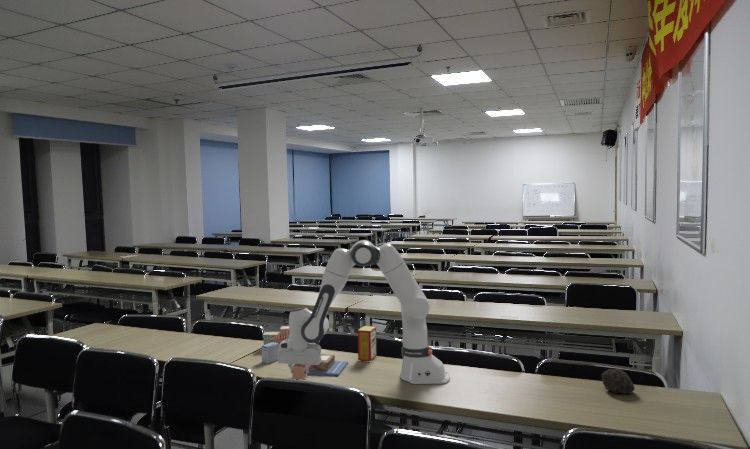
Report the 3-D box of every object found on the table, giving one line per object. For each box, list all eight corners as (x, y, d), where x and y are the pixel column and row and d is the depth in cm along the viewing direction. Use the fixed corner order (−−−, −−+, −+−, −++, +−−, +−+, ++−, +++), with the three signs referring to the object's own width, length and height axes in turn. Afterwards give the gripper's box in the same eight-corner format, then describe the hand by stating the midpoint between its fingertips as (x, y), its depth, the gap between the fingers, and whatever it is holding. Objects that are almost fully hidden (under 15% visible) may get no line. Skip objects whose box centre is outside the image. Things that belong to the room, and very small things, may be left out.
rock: (640, 393, 194) (635, 368, 194) (615, 399, 192) (610, 374, 193) (624, 387, 204) (619, 363, 204) (600, 392, 202) (595, 368, 203)
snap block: (306, 376, 222) (306, 362, 222) (303, 380, 217) (302, 365, 217) (296, 375, 223) (296, 361, 223) (292, 379, 218) (292, 365, 218)
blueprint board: (348, 363, 239) (347, 353, 239) (338, 376, 222) (338, 364, 222) (305, 361, 244) (305, 351, 243) (293, 373, 226) (292, 362, 226)
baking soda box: (364, 355, 252) (364, 325, 252) (376, 356, 250) (376, 325, 250) (358, 360, 243) (357, 329, 243) (370, 362, 241) (370, 330, 241)
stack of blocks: (263, 351, 262) (262, 329, 261) (265, 348, 268) (265, 326, 268) (303, 350, 263) (302, 328, 262) (304, 347, 269) (303, 325, 269)
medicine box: (273, 358, 250) (273, 341, 249) (279, 359, 247) (279, 343, 247) (261, 362, 243) (261, 345, 243) (267, 364, 240) (267, 346, 240)
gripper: (323, 342, 221) (323, 372, 221) (280, 340, 225) (281, 369, 225) (318, 346, 214) (319, 376, 215) (275, 344, 218) (276, 374, 219)
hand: (299, 373), depth 220 cm, fingers closed on snap block, 5 cm apart
